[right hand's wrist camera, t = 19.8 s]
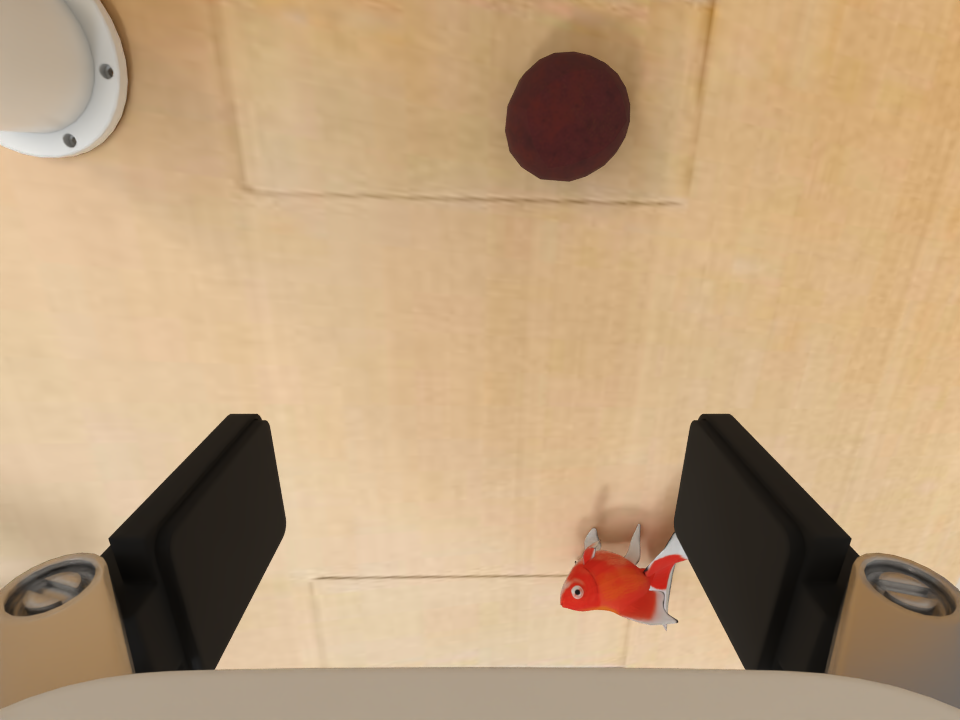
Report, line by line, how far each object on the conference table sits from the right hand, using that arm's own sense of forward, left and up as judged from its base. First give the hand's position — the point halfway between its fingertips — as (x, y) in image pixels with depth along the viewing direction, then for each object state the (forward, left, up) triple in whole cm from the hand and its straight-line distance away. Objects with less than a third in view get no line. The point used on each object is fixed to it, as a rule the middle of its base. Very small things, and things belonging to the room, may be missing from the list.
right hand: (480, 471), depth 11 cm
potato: (-7, +8, -30) cm, 31 cm away
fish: (+30, +5, -30) cm, 43 cm away
